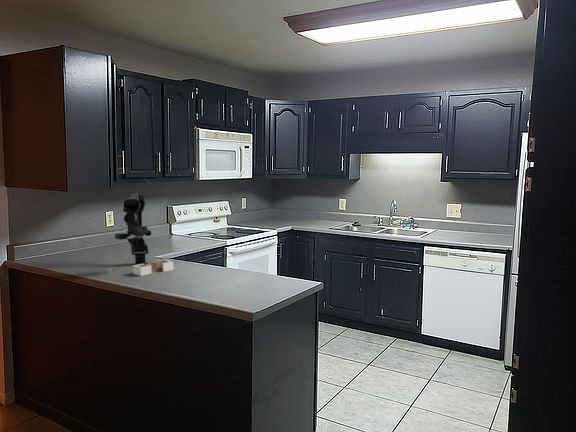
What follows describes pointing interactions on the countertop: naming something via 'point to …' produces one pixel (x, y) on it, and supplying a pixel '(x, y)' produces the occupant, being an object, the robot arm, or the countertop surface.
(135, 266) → the cap
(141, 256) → the robot arm
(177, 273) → the countertop surface
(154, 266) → the brown bar
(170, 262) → the cap
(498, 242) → the countertop surface
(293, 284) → the countertop surface
